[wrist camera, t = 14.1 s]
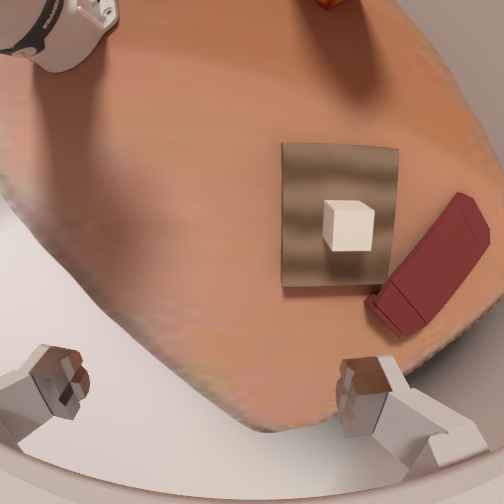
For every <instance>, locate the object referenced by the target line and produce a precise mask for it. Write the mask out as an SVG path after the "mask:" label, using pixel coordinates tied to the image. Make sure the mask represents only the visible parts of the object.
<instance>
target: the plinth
mask: <svg viewBox="0 0 504 504" xmlns="http://www.w3.org/2000/svg"><path fill="white" fill-rule="evenodd" d="M281 149H282V224H281V283H282V287H306V286H342V285H370V284H385V283H386V281H387V275H388V268H389V261H390V254H391V246H392V238H393V229H394V219H395V208H396V196H397V181H398V161H399V149H394V148H384V147H372V146H358V145H341V144H319V143H281ZM324 200H350V201H361V202H362V203H364V204H365V205H367V206H368V207H370V208H371V209H373V210H374V211H375V214H374V226H373V236H372V246H371V251H332V250H331V249H330V247H329V246H328V244H327V242H326V241H325V239H324V238H323V216H324Z"/></svg>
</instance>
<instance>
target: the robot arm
mask: <svg viewBox="0 0 504 504" xmlns="http://www.w3.org/2000/svg"><path fill="white" fill-rule="evenodd" d="M109 12H111V13H110V14H109ZM108 14H109V15H108ZM118 18H119V14H118V7H117V0H0V53H1V54H5V55H10V56H14V57H22V58H28V59H30V60H32V61H34V62H36V63H37V64H38V65H40V66H41V67H42V68H43V69H44V70H46V71H48V72H54V73H57V72H63V71H66V70H69V69H71V68H73V67H74V66H76V65H78V64H79V63H80V62H82V61H83V60H84V59H85V58H86V57H87V56H88V55H89V54H90V53H91V52H92V50H93V49H94V48H95V46H96V45H97V43H98V42H99V40H100V38H101V37H102V36H103V34H104V33H105V32H106V31H108V30H109V29H110V28H111V27H112V26H113V25H114V24H115V23H116V22H117V21H118ZM82 361H83V360H82V358H81V355H80V353H79V352H78V351H76V350H71V349H65V348H60V347H55V346H49V345H44V344H42V345H39V346H38V347H37V348H36V349H35V350H34V352H33V353H32V354H31V355H30V356H29V357H28V359H27V360H26V361H25V362H24V363H23V365H22V366H21V367H20V368H19V369H18V370H17V371H15V370H14V371H11V372H9V373H7V374H5V375H3V376H1V377H0V504H504V446H503V447H501V448H498V449H496V450H494V451H492V452H490V450H489V448H488V446H487V444H486V443H485V441H484V439H483V437H482V435H481V434H480V432H479V430H478V428H477V427H476V425H475V423H474V422H473V421H471V420H469V419H467V418H466V417H464V416H462V415H460V414H459V413H457V412H455V411H453V410H451V409H450V408H448V407H446V406H445V405H443V404H441V403H439V402H438V401H436V400H434V399H432V398H431V397H429V396H427V395H425V394H424V393H422V392H420V391H419V390H417V389H415V388H413V389H410V387H409V385H408V384H407V382H406V380H405V378H404V376H403V374H402V372H401V370H400V368H399V367H398V365H397V363H396V361H395V359H394V357H393V356H392V355H391V354H386V355H378V356H374V357H363V358H353V359H342V362H341V365H340V369H339V370H340V373H341V378H340V379H339V380H338V381H337V386H336V403H337V408H338V410H339V411H340V412H341V413H343V414H342V418H341V424H342V428H343V432H344V435H345V437H355V436H363V435H371V434H373V435H372V436H373V437H374V438H375V439H377V440H378V441H379V442H380V443H381V444H382V445H383V446H384V447H385V448H386V449H387V450H389V451H390V452H391V453H392V454H393V455H394V456H395V457H396V458H397V459H399V460H400V461H401V462H402V463H403V464H404V465H405V466H406V467H408V468H409V469H410V470H409V471H408V473H407V474H406V476H405V477H404V478H403V480H402V481H401V483H397V484H392V485H388V486H383V487H379V488H374V489H368V490H364V491H357V492H351V493H345V494H337V495H330V496H321V497H312V498H298V499H281V500H280V499H279V500H235V499H234V500H233V499H214V498H202V497H192V496H183V495H175V494H168V493H162V492H155V491H149V490H144V489H139V488H134V487H129V486H125V485H120V484H116V483H112V482H108V481H104V480H100V479H96V478H92V477H89V476H86V475H82V474H79V473H76V472H73V471H70V470H67V469H64V468H61V467H58V466H55V465H53V464H50V463H47V462H44V461H42V460H40V459H37V458H34V457H32V456H30V455H27V454H25V453H23V451H22V450H21V448H20V447H19V446H18V445H17V443H18V442H19V441H21V440H22V439H23V438H25V437H26V436H28V435H29V434H30V433H32V432H33V431H34V430H36V429H37V428H39V427H40V426H41V425H43V424H44V423H45V422H46V421H48V420H49V419H51V418H52V417H53V416H57V417H61V418H65V419H69V420H73V419H74V417H75V416H76V414H77V412H78V410H79V408H80V403H79V401H80V400H82V399H84V398H85V397H86V396H87V393H88V392H89V386H90V381H89V375H88V373H87V371H86V370H85V369H84V368H83V367H82V366H81V364H82ZM52 415H53V416H52Z"/></svg>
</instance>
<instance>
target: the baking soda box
mask: <svg viewBox="0 0 504 504" xmlns="http://www.w3.org/2000/svg"><path fill="white" fill-rule="evenodd" d="M317 1H318V2H319V3H320V4H321V5H322V6H323V7H324V8H325V9H326V10H329V9H331V8H332V7H334V6H336V5H338V4H339V3H341V2H343V1H345V0H317Z"/></svg>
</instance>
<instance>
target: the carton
mask: <svg viewBox="0 0 504 504" xmlns="http://www.w3.org/2000/svg"><path fill="white" fill-rule="evenodd" d="M489 245H490V229H489V227H488V225H487V223H486V221H485V219H484V217H483V216H482V214H481V212H480V210H479V208H478V206H477V205H476V203H475V201H474V199H473V198H471V197H469V196H467V195H465V194H463V193H458V192H457V193H456V195H455V196H454V198H453V199H452V200H451V202H450V203H449V204H448V206H447V207H446V208H445V210H444V211H443V212H442V214H441V215H440V216H439V218H438V219H437V220H436V221H435V223H434V224H433V225H432V227H431V228H430V229H429V230H428V232H427V233H426V234H425V235H424V237H423V238H422V239H421V240H420V242H419V243H418V244H417V245H416V246H415V248H414V249H413V250H412V251H411V252H410V254H409V255H408V256H407V257H406V258H405V260H404V261H403V262H402V263H401V264H400V265H399V267H398V268H397V269H396V270H395V271H394V272H393V273H392V275H391V276H390V277H389V278H388V280H387V281H386V283H385V284H384V286H383V287H382V289H381V290H380V292H379V294H378V295H377V296H375V295H374V294H373V293H371V295H370V296H369V297H368V298H367V299H366V300H365V301H364V302H365V303H366V304H367V305H368V306H369V307H370V308H371V309H372V310H373V311H374V312H375V313H376V315H377V316H378V317H379V318H380V319H381V320H382V321H383V322H384V323H385V324H386V325H387V326H388V327H389V328H390V329H391V330H392V331H393V332H394V333H395V334H396V335H397V336H398V337H399V338H400V337H401V336H402V335H403V334H404V335H405V336H408V335H410V334H412V333H414V332H416V331H418V330H419V329H421V328H423V327H425V326H427V324H429V323H430V321H431V320H432V319H433V318H434V317H435V316H436V315H437V313H438V312H439V311H440V310H441V309H442V307H443V306H444V305H445V304H446V303H447V301H448V300H449V299H450V298H451V296H452V295H453V294H454V293H455V291H456V290H457V289H458V288H459V286H460V285H461V284H462V282H463V281H464V280H465V278H466V277H467V276H468V274H469V273H470V272H471V270H472V269H473V268H474V266H475V265H476V264H477V262H478V261H479V259H480V258H481V256H482V255H483V254H484V252H485V251H486V249H487V248H488V246H489ZM425 322H426V323H427V324H426V323H425Z"/></svg>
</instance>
